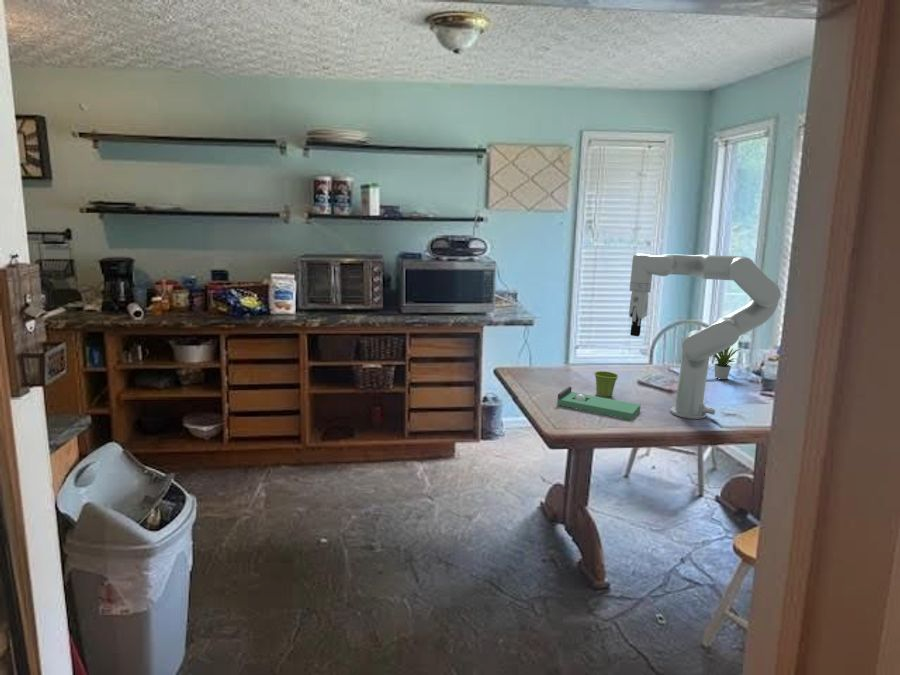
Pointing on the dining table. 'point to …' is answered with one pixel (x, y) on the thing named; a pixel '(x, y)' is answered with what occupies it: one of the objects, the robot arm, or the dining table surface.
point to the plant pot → (605, 383)
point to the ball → (580, 397)
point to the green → (598, 404)
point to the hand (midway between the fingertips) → (634, 335)
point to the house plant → (723, 363)
